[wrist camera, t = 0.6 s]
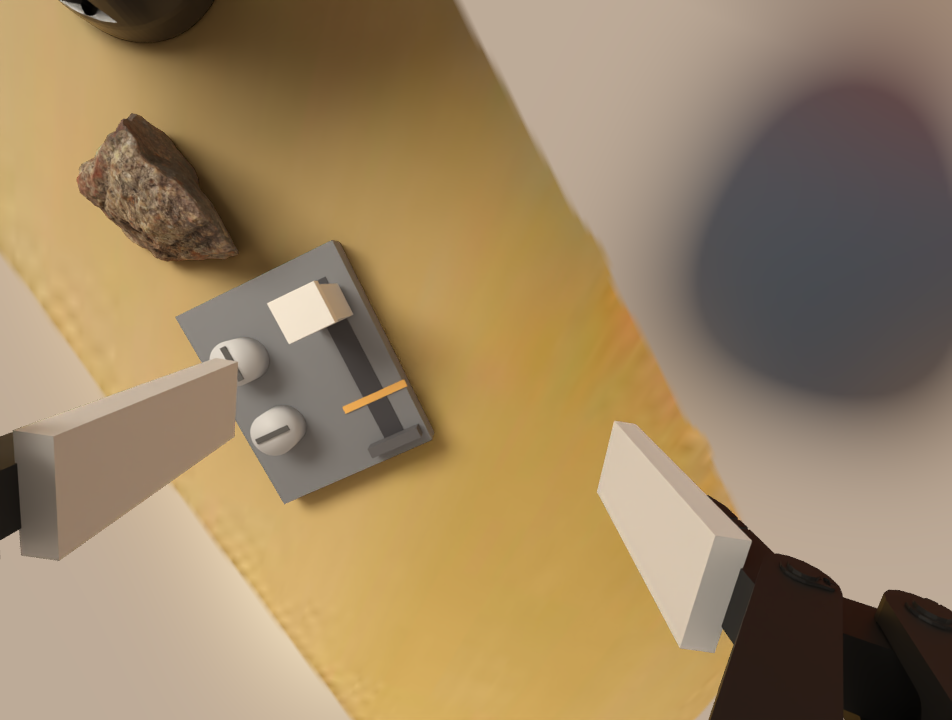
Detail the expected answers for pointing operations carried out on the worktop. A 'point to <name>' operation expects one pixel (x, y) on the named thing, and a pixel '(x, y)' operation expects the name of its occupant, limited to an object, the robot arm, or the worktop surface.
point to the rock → (154, 194)
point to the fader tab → (309, 309)
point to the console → (310, 378)
